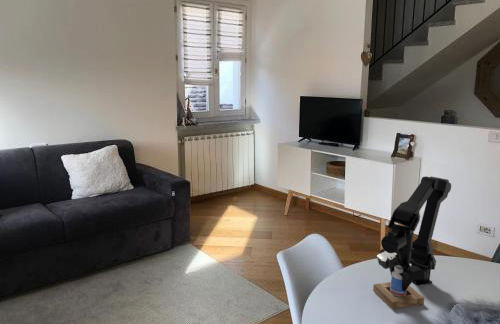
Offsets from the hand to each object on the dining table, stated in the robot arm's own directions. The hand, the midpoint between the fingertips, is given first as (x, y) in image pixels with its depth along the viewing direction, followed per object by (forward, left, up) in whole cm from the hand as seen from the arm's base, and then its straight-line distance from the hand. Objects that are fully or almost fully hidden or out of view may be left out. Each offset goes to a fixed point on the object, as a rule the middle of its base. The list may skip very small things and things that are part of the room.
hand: (399, 286), depth 149 cm
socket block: (0, 0, -4) cm, 4 cm away
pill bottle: (0, 0, -3) cm, 3 cm away
